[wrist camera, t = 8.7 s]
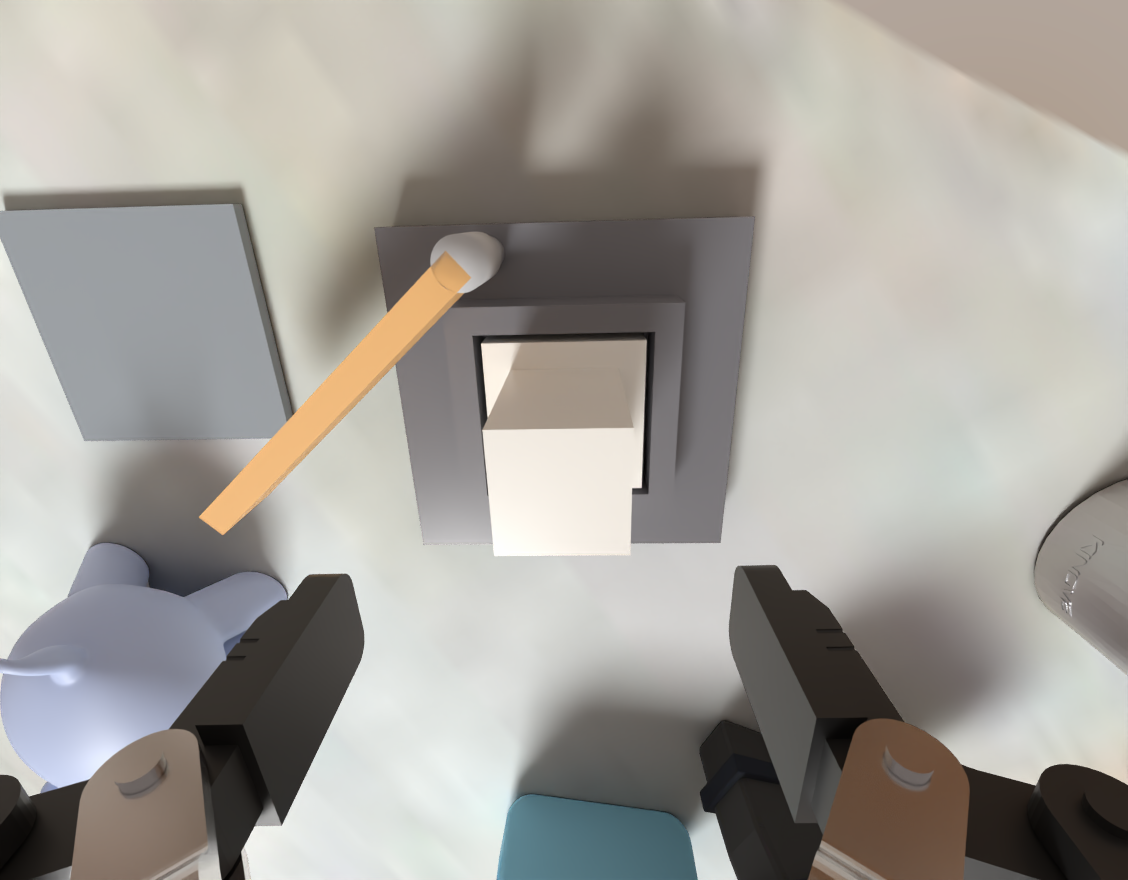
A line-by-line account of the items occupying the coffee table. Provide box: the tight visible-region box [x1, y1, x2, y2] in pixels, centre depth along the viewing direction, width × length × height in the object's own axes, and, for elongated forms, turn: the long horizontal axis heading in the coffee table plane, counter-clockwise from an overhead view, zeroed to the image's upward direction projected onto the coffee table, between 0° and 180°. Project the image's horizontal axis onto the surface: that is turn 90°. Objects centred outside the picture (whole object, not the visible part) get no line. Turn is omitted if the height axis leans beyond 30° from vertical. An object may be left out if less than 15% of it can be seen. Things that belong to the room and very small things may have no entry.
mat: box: [0, 204, 293, 441], centre depth 23 cm, size 10×10×1 cm
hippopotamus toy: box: [0, 543, 287, 793], centre depth 26 cm, size 11×15×10 cm
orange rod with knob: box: [199, 232, 501, 535], centre depth 18 cm, size 2×14×3 cm, turn 133°
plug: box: [481, 332, 647, 556], centre depth 18 cm, size 6×6×8 cm
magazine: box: [700, 721, 823, 880], centre depth 28 cm, size 4×13×15 cm, turn 66°
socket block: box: [374, 217, 755, 545], centre depth 22 cm, size 14×14×4 cm
